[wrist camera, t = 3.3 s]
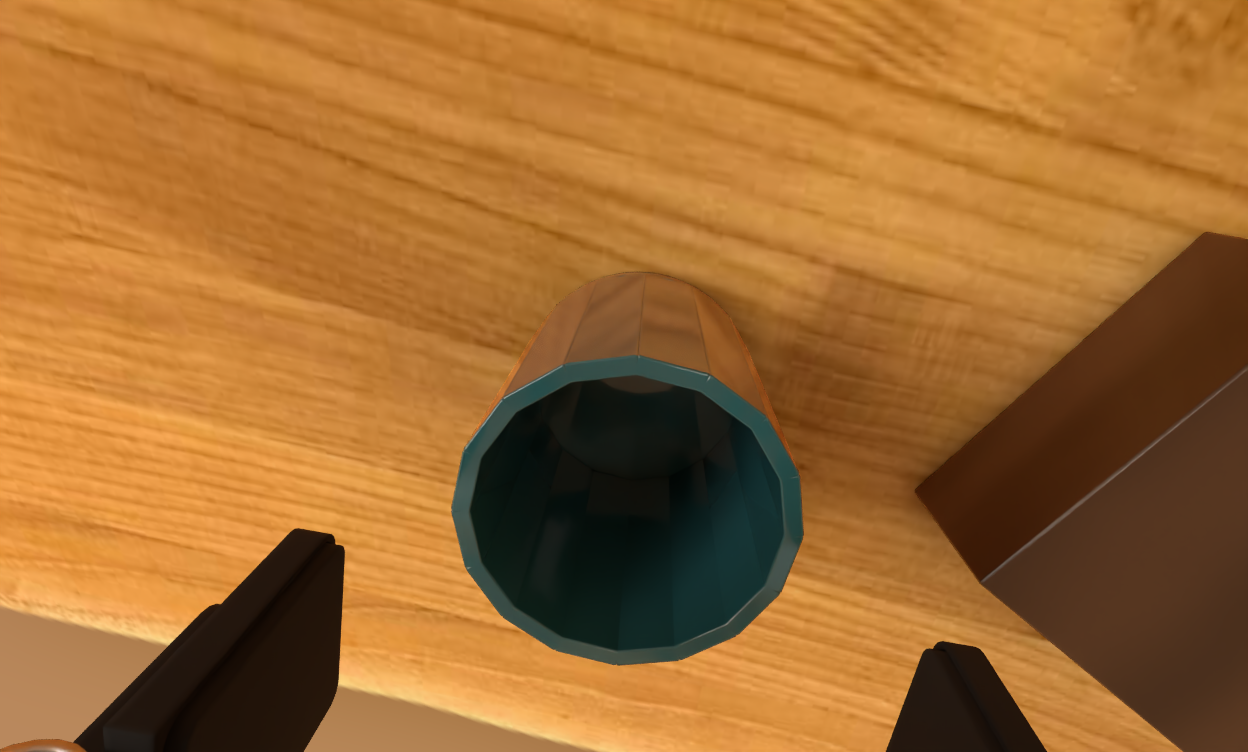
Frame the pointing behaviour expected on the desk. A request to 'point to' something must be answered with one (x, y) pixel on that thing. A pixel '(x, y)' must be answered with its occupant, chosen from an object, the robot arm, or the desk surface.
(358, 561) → the desk surface
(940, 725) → the robot arm
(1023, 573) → the block
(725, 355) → the cup
